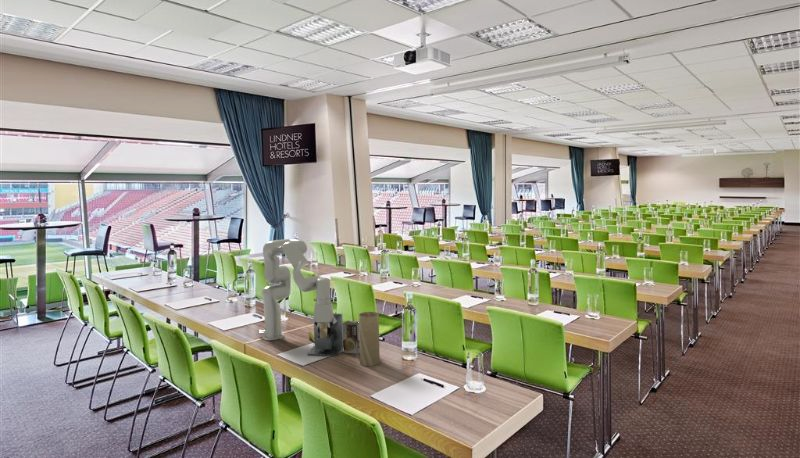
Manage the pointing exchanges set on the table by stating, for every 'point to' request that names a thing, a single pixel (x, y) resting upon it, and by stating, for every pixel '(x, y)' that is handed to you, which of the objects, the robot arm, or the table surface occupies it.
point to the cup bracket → (329, 340)
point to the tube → (369, 338)
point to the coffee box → (351, 337)
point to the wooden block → (323, 330)
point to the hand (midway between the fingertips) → (324, 333)
